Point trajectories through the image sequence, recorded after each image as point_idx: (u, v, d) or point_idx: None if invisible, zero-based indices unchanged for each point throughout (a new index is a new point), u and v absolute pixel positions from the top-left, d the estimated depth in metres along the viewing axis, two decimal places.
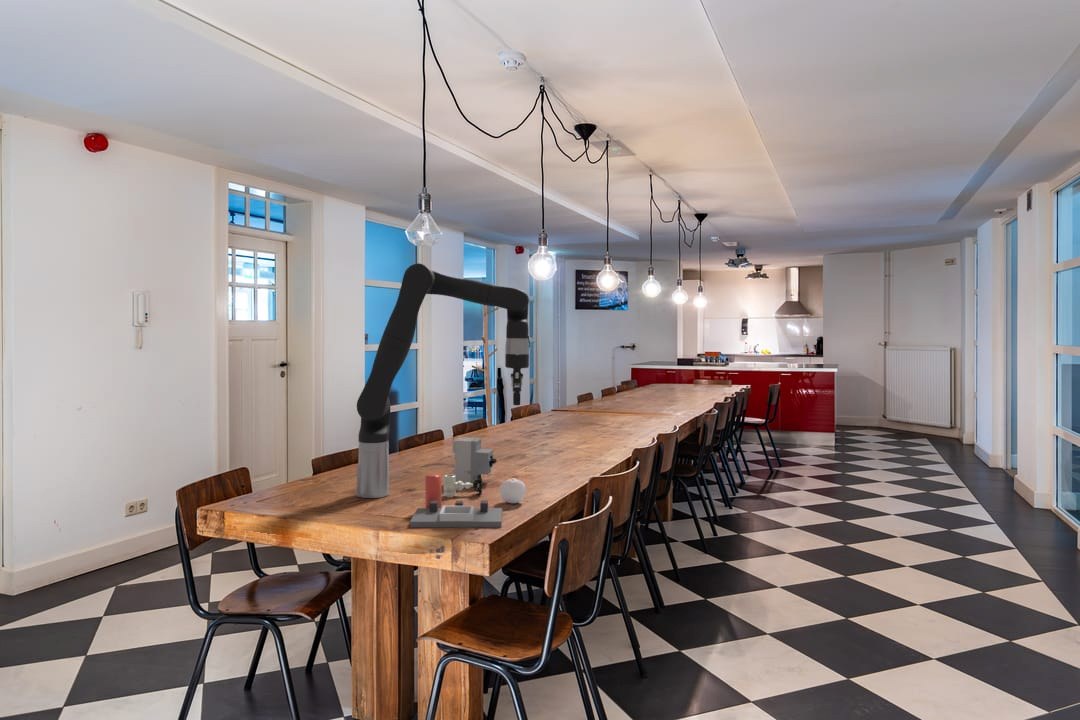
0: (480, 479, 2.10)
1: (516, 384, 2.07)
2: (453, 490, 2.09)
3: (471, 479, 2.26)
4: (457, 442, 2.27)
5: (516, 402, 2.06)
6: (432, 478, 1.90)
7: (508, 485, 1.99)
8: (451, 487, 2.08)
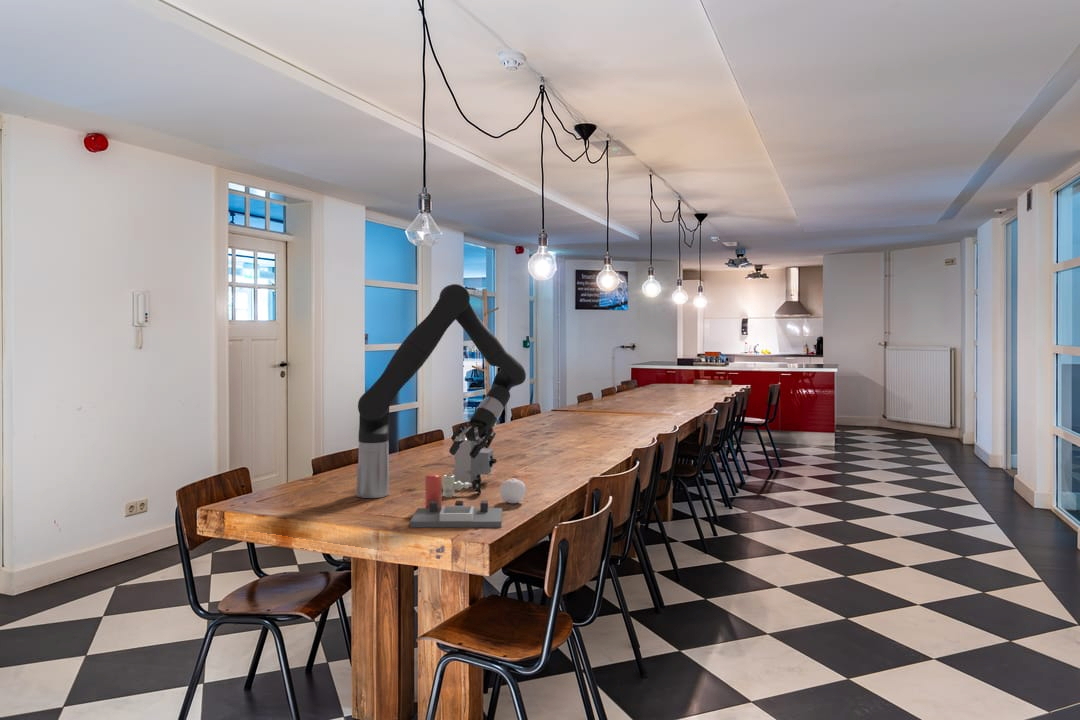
0: (479, 479, 2.10)
1: (480, 439, 2.02)
2: (452, 490, 2.09)
3: (471, 479, 2.26)
4: None
5: (475, 454, 1.99)
6: (432, 478, 1.90)
7: (508, 485, 1.99)
8: (451, 487, 2.08)
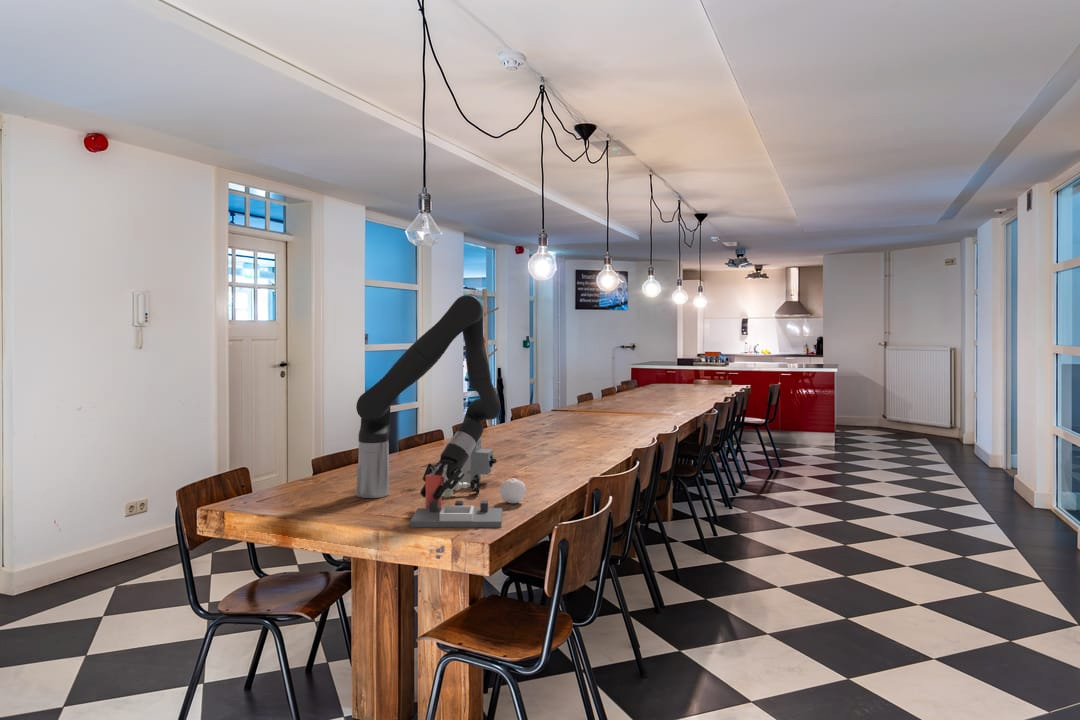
0: (477, 479, 2.10)
1: (447, 479, 1.93)
2: (450, 490, 2.09)
3: (471, 479, 2.26)
4: None
5: (438, 496, 1.89)
6: (432, 478, 1.90)
7: (508, 485, 1.99)
8: None
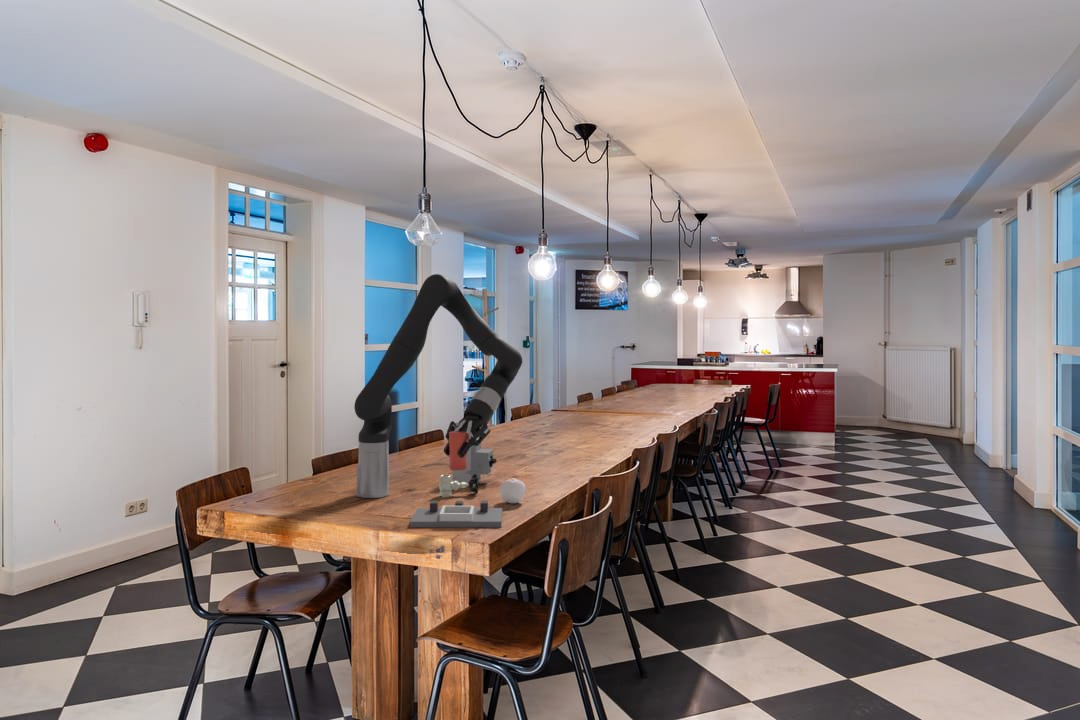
0: (476, 479, 2.10)
1: (472, 436, 1.81)
2: (449, 490, 2.09)
3: None
4: None
5: (463, 453, 1.77)
6: (457, 434, 1.78)
7: (508, 485, 1.99)
8: (448, 487, 2.08)
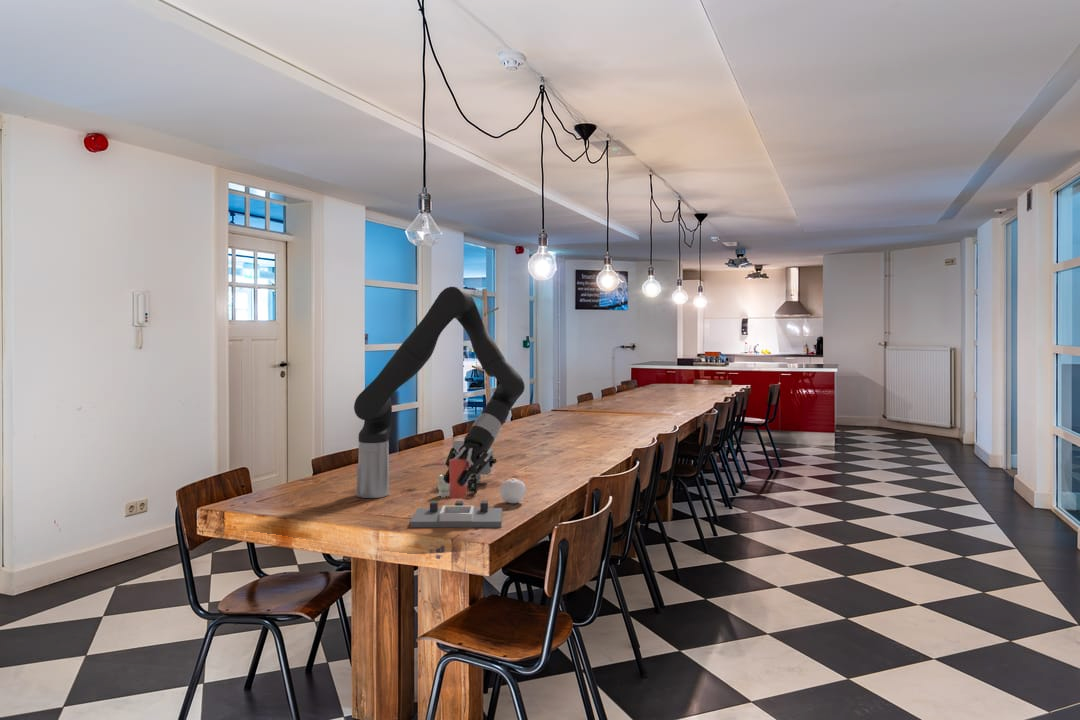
0: (475, 478, 2.10)
1: (472, 464, 1.79)
2: (448, 490, 2.09)
3: None
4: (457, 442, 2.27)
5: (463, 481, 1.76)
6: (456, 462, 1.77)
7: (508, 485, 1.99)
8: (447, 487, 2.08)
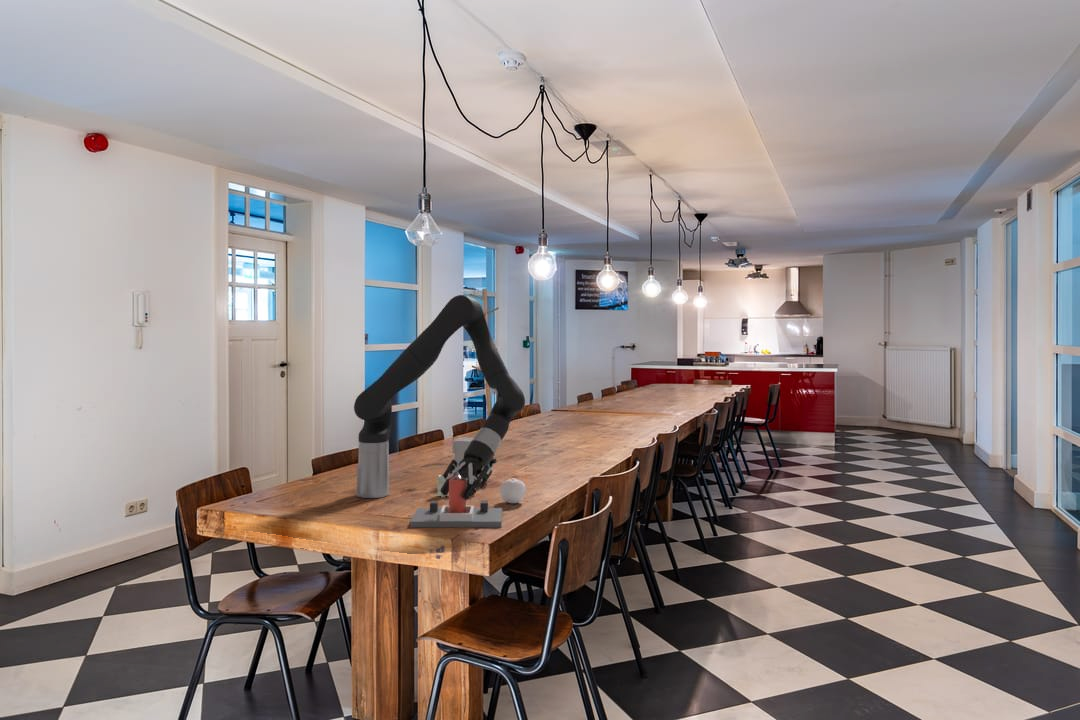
0: None
1: (475, 477, 1.79)
2: None
3: None
4: (457, 442, 2.27)
5: (467, 495, 1.76)
6: (456, 483, 1.77)
7: (508, 485, 1.99)
8: None
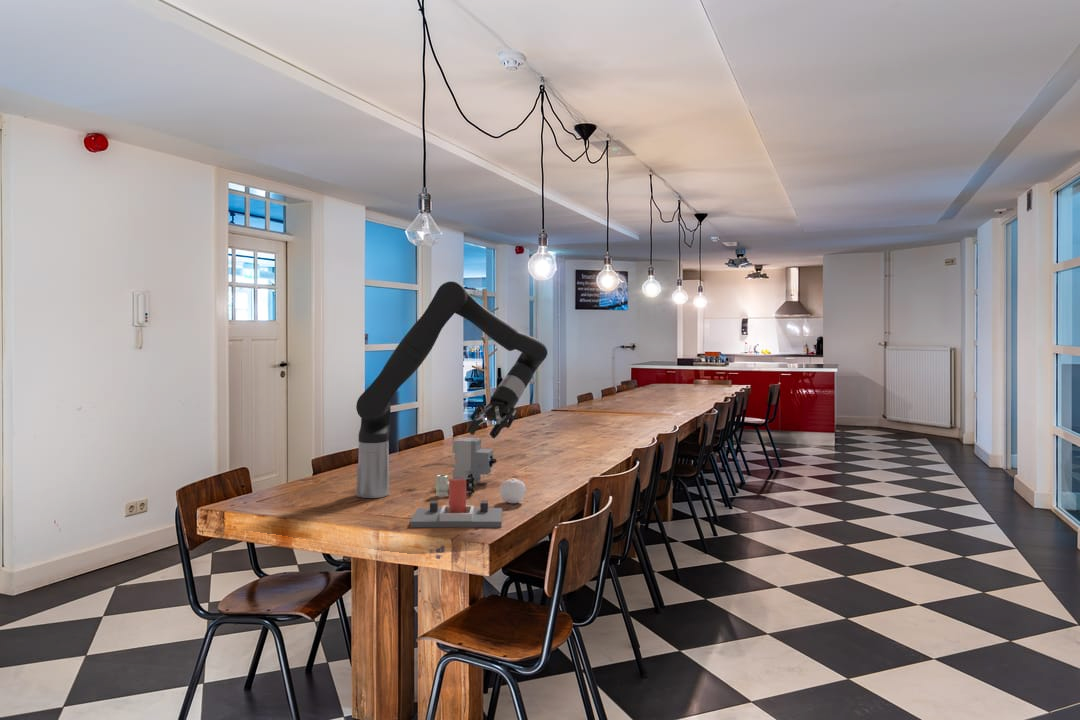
0: (472, 478, 2.11)
1: (501, 418, 1.93)
2: (446, 490, 2.09)
3: None
4: (457, 442, 2.27)
5: (495, 434, 1.90)
6: (456, 483, 1.77)
7: (508, 485, 1.99)
8: (444, 487, 2.08)
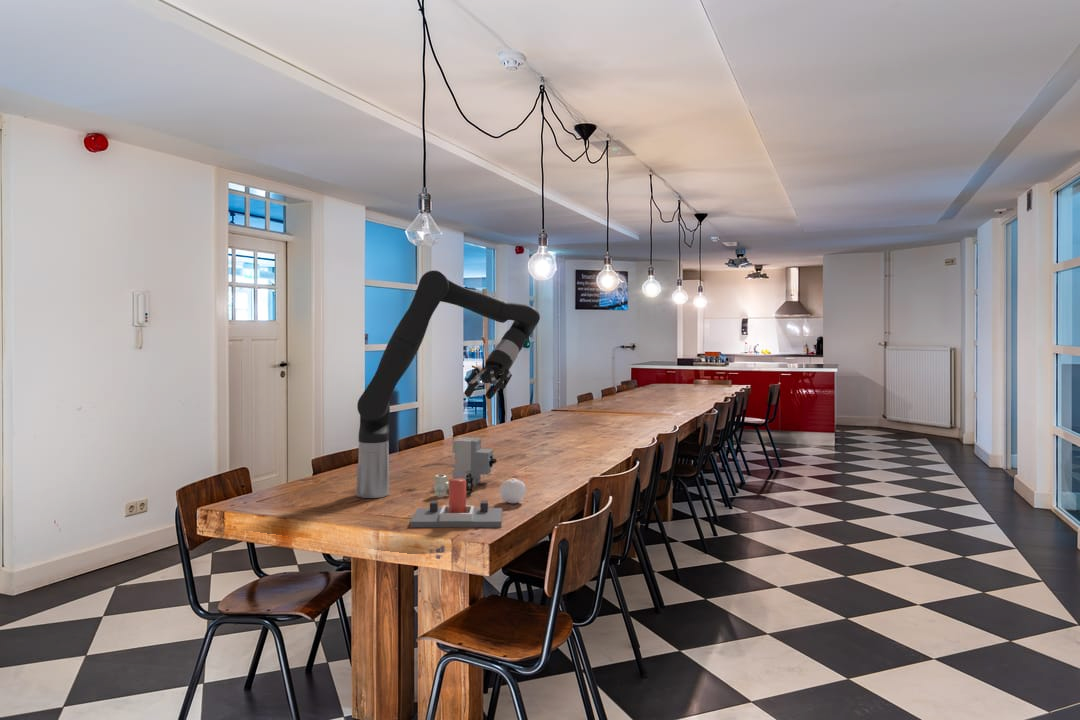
0: (471, 478, 2.11)
1: (496, 380, 1.98)
2: (444, 490, 2.09)
3: None
4: (457, 442, 2.27)
5: (491, 394, 1.95)
6: (456, 483, 1.77)
7: (508, 485, 1.99)
8: (443, 487, 2.08)
